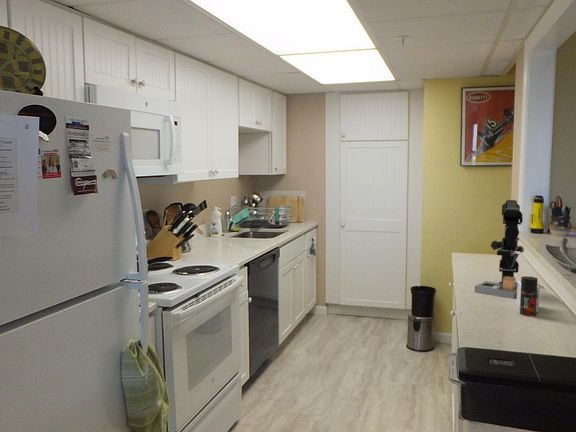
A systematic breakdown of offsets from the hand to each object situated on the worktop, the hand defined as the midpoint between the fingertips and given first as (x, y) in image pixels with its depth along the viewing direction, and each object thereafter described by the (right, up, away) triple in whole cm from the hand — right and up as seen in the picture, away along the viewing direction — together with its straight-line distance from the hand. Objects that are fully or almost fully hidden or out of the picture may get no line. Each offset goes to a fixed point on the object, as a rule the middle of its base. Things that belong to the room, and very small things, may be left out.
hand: (509, 268), depth 241 cm
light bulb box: (-3, -15, -23) cm, 27 cm away
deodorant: (-6, -15, -32) cm, 36 cm away
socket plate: (-3, -12, +4) cm, 13 cm away
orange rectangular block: (0, -12, +1) cm, 12 cm away
